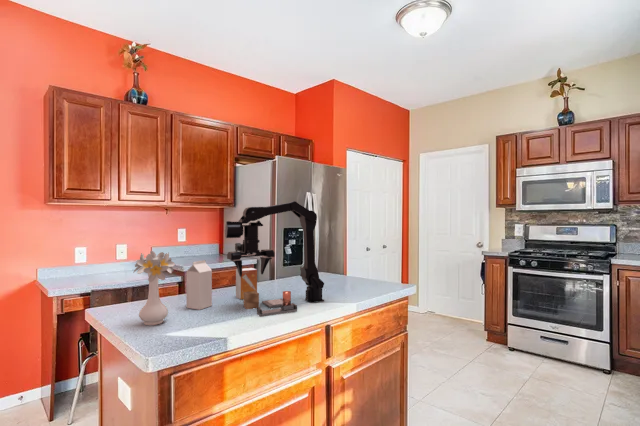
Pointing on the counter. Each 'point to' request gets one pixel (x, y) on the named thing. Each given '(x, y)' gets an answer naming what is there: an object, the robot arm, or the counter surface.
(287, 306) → the handle
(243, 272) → the small box
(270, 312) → the rail
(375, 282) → the counter surface
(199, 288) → the milk carton
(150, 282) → the flower vase
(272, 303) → the plate
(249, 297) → the block
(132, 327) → the counter surface
